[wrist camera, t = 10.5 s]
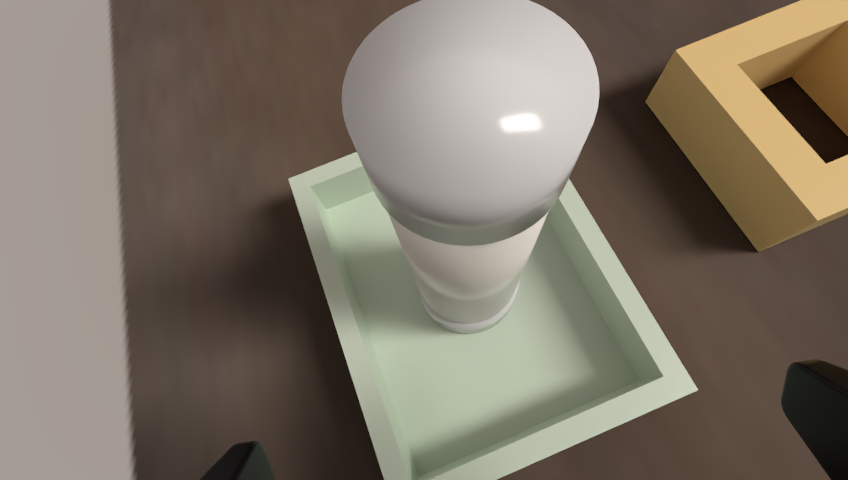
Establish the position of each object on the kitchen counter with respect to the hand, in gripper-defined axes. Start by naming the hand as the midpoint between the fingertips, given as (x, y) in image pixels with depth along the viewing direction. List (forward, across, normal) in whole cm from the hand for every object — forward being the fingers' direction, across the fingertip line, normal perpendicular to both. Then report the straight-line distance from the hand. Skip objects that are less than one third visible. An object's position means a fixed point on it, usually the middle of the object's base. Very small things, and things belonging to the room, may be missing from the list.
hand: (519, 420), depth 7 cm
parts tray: (+12, 0, +4) cm, 12 cm away
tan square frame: (+15, -16, 0) cm, 22 cm away
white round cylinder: (+11, 0, +4) cm, 12 cm away
